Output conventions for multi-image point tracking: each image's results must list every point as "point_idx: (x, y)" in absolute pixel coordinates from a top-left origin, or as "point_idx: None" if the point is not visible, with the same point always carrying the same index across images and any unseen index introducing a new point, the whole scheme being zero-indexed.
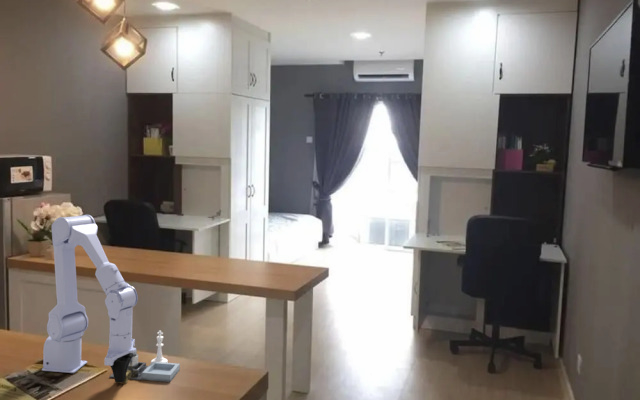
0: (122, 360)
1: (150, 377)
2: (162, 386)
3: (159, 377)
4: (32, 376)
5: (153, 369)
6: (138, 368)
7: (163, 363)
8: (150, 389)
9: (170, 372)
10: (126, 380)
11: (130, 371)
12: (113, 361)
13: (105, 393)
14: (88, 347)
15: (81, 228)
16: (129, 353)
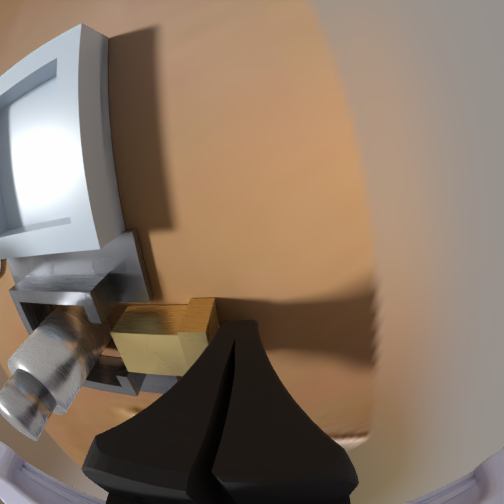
0: (346, 491)
1: (103, 172)
2: (182, 38)
3: (94, 102)
4: None
5: (21, 225)
6: (68, 302)
7: None
8: (255, 89)
9: (47, 53)
10: (210, 309)
11: (124, 332)
12: (434, 495)
13: (366, 336)
14: (68, 446)
15: None
16: (117, 489)
